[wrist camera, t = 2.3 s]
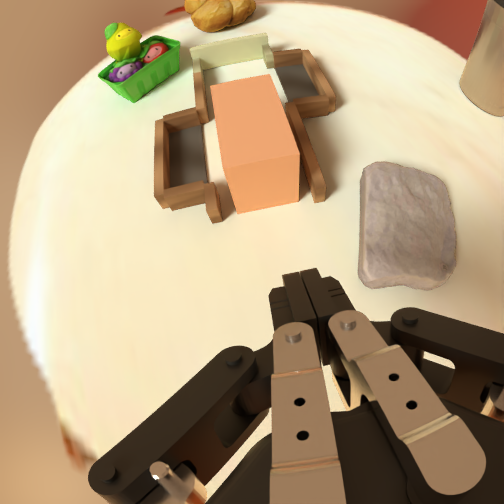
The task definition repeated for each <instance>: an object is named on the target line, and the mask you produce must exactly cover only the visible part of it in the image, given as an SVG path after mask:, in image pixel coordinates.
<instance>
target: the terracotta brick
mask: <svg viewBox="0 0 504 504" xmlns="http://www.w3.org/2000/svg"><path fill="white" fill-rule="evenodd" d="M210 88H211V95H212V101H213V108H214V114H215V121H216V127H217V134H218V140H219V147H220V153H221V159H222V165H223V170H224V173H225V177H226V180H227V183H228V186H229V189H230V192H231V195H232V198H233V201H234V205H235V208H236V211H237V214H241V213H246V212H250V211H255V210H260V209H265V208H270V207H275V206H280V205H285V204H290V203H295V202H298V201H299V162H300V153H299V150H298V147H297V145H296V142H295V139H294V136H293V133H292V131H291V128H290V125H289V122H288V120H287V117H286V114H285V112H284V109H283V106H282V104H281V101H280V99H279V96H278V93H277V91H276V88H275V86H274V83H273V81H272V78H271V76H270V74H268V75H261V76H256V77H250V78H245V79H240V80H235V81H230V82H225V83H221V84H216V85H212V86H210Z"/></svg>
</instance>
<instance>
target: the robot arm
mask: <svg viewBox="0 0 504 504" xmlns="http://www.w3.org/2000/svg"><path fill="white" fill-rule="evenodd" d="M459 83H460V87H461V89H462V91H463V92H464V94H465V95H466V96H467V97H468V98H469V99H470V100H471V101H472V102H473V103H474V104H475V105H477V106H478V107H479V108H481V109H482V110H484V111H486V112H488V113H490V114H492V115H495V116H504V0H488V2H487V5H486V8H485V12H484V15H483V19H482V22H481V25H480V28H479V31H478V34H477V36H476V39H475V42H474V45H473V48H472V50H471V53H470V56H469V58H468V61H467V63H466V66H465V68H464V71H463V74H462V76H461V79H460V82H459ZM282 278H283V284H284V286H283V287H278V288H273V289H272V290H271V292H270V294H269V302H270V308H271V314H272V320H273V326H274V334H273V339H272V341H271V342H270V343H269V344H268V345H267V346H265V347H263V348H261V349H259V350H257V351H254V352H253V351H252V349H250V348H248V347H245V346H232V347H229V348H226V349H224V350H222V351H221V352H220V353H218V354H217V355H216V356H215V357H214V358H213V359H212V360H211V361H210V362H209V363H208V364H207V365H206V366H205V367H203V368H202V369H201V370H200V371H199V372H198V373H197V374H196V375H195V376H194V377H193V378H192V379H190V380H189V381H188V382H187V383H186V384H185V385H184V386H183V387H182V388H181V389H180V390H178V391H177V392H176V393H175V394H174V395H173V396H172V397H171V398H170V399H168V400H167V401H166V402H165V403H164V404H163V405H162V406H161V407H159V408H158V409H157V410H156V411H155V412H154V413H153V414H152V415H150V416H149V417H148V418H147V419H146V420H145V421H144V422H142V423H141V424H140V425H139V426H138V427H137V428H135V429H134V430H133V431H132V432H131V433H130V434H128V435H127V436H126V437H125V438H124V439H123V440H121V441H120V442H119V443H118V444H117V445H115V446H114V447H113V448H112V449H111V450H109V451H108V452H107V453H106V454H105V455H103V456H102V457H101V458H100V459H99V460H97V461H96V462H95V463H94V464H93V465H92V467H91V469H90V471H89V475H88V481H89V484H90V486H91V488H92V489H93V490H94V491H95V492H97V493H98V494H99V495H100V496H102V497H103V498H104V499H105V500H107V502H108V503H109V504H504V334H503V333H500V332H496V331H493V330H489V329H486V328H483V327H479V326H476V325H472V324H469V323H465V322H462V321H459V320H455V319H452V318H448V317H445V316H442V315H438V314H435V313H431V312H428V311H425V310H421V309H418V308H412V307H408V308H402V309H399V310H397V311H396V312H394V313H393V315H392V317H391V321H383V322H374V321H369V319H368V318H367V317H366V316H365V315H364V314H363V313H361V312H359V311H356V310H355V308H354V307H353V305H352V303H351V301H350V300H349V298H348V296H347V294H346V293H345V291H344V289H343V288H342V286H341V284H340V283H339V281H338V280H336V279H334V278H333V277H331V276H329V277H325V278H321V276H320V274H319V272H318V270H317V268H313V269H308V270H304V271H300V274H299V272H294V273H290V274H285V275H282ZM424 351H426V352H429V353H431V354H434V355H437V356H440V357H443V358H446V359H449V360H450V361H452V362H453V364H454V365H455V369H452V368H449V367H446V366H444V365H441V364H438V363H435V362H432V361H430V360H427V359H424V358H423V357H424ZM321 361H322V364H323V366H325V365H330V366H331V369H332V379H333V382H334V384H335V386H336V389H337V391H338V393H339V395H340V398H341V400H342V402H343V404H344V407H345V409H346V411H341V412H330V407H329V401H328V396H327V391H326V386H325V380H324V375H323V370H322V367H321ZM271 407H272V433H270V434H268V435H267V436H265V437H264V438H262V439H261V440H260V441H259V442H257V443H256V444H255V445H254V446H253V447H252V448H251V449H250V450H249V452H248V453H247V454H246V455H245V457H244V458H243V459H242V460H241V462H240V463H239V464H238V465H237V467H236V468H235V469H234V470H233V471H232V473H231V474H230V475H229V476H228V478H227V479H226V480H225V481H224V482H223V483H222V485H221V486H220V487H219V488H218V489H217V490H216V492H215V493H214V494H213V495H212V496H211V497H210V498H209V500H208V501H207V502H206V499H207V491H206V488H205V487H204V486H205V485H206V484H207V483H208V482H209V481H210V480H211V479H212V478H213V477H214V476H215V475H216V474H217V473H218V472H219V470H220V469H221V468H222V467H223V466H224V465H225V464H226V463H227V462H228V461H229V459H230V458H231V457H232V456H233V455H234V454H235V453H236V452H237V450H238V449H239V448H240V447H241V446H242V445H243V444H244V442H245V441H246V440H247V439H248V438H249V436H250V435H251V434H252V433H253V432H254V431H255V429H256V428H257V427H258V426H259V425H260V423H261V422H262V421H263V420H264V418H265V417H266V416H267V414H268V412H269V408H271ZM205 502H206V503H205Z"/></svg>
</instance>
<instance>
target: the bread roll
mask: <svg viewBox="0 0 504 504" xmlns="http://www.w3.org/2000/svg"><path fill="white" fill-rule="evenodd" d="M184 6H185V10H186V12H187V13H189V14H191V19H192V21H193V23H194V26H196V27H197V28H198V29H200V30H202V31H205V32H215V31H218V30H221V29H223V28H224V27H226V26H228V27H229V26H234V25H237V24H240V23H242V22H244V21H245V20H246V18H247V17H248V16H250V15H251V14H252V13H253V12H254V10H255V8H256V4H255V1H254V0H185V4H184Z"/></svg>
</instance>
